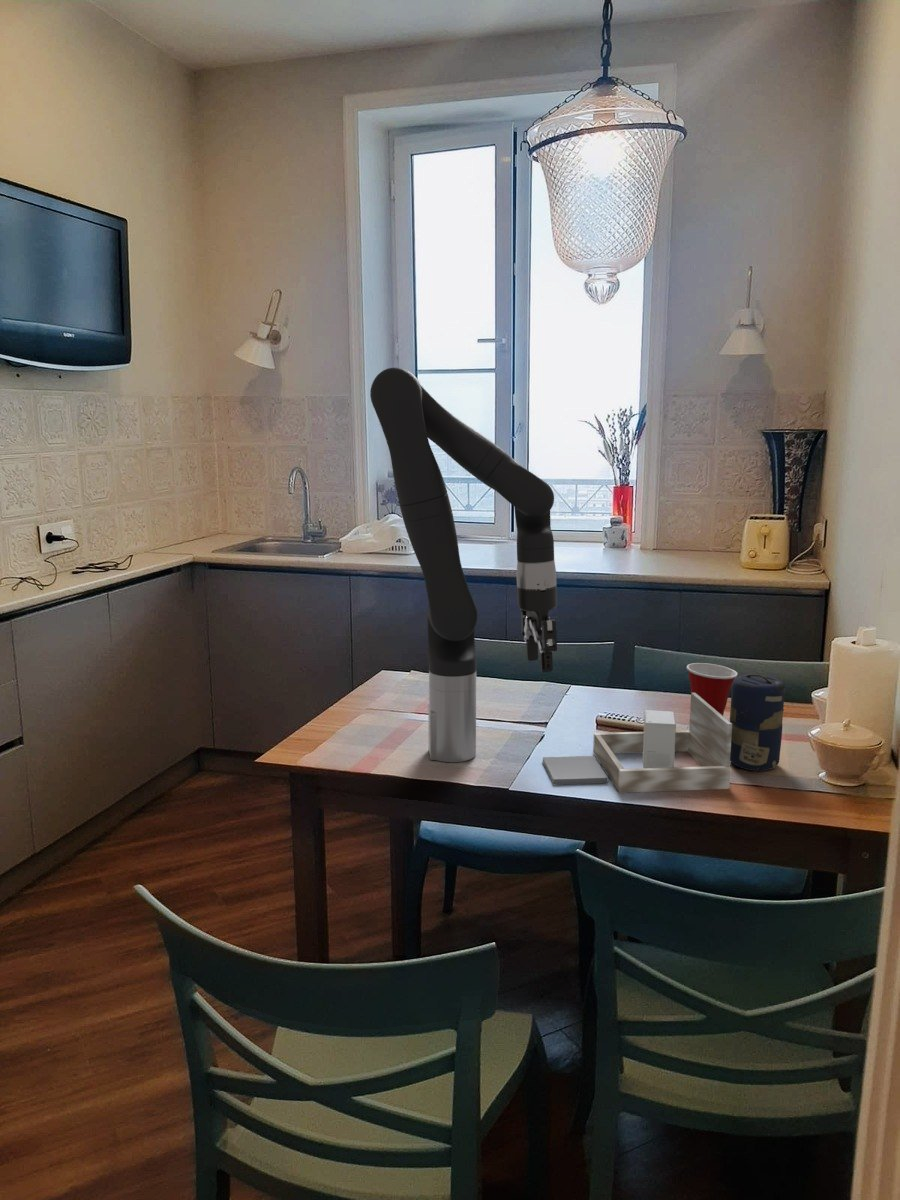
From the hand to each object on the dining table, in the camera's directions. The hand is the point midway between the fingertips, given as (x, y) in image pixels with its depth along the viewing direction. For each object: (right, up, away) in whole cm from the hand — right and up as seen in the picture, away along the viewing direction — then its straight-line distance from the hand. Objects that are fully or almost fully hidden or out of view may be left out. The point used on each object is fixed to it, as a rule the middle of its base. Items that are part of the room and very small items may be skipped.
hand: (539, 665), depth 173 cm
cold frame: (+22, -19, -4) cm, 30 cm away
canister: (+41, -19, -2) cm, 45 cm away
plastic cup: (+40, -14, +24) cm, 48 cm away
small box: (+22, -20, -4) cm, 30 cm away
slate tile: (+6, -20, -5) cm, 21 cm away
